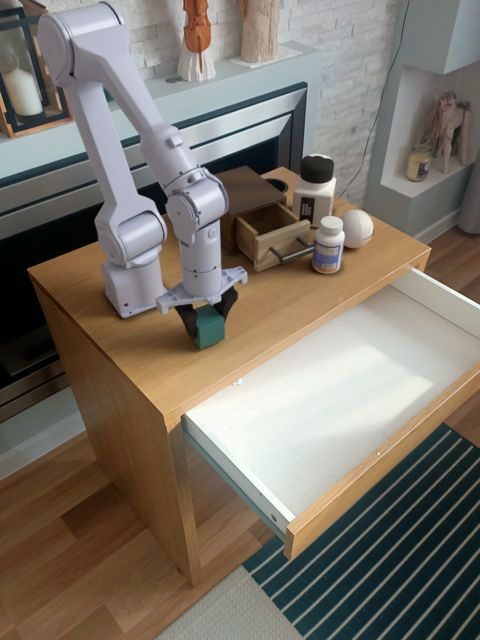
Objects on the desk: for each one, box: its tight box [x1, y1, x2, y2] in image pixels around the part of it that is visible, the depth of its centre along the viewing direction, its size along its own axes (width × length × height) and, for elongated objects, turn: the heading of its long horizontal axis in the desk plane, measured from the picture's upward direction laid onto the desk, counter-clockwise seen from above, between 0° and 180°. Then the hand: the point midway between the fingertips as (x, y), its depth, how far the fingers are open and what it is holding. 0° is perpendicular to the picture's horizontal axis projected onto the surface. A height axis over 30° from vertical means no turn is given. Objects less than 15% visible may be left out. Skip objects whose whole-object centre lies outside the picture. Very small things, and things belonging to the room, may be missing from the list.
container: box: [291, 153, 337, 229], centre depth 112 cm, size 8×8×13 cm
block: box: [193, 303, 226, 350], centre depth 88 cm, size 4×4×4 cm
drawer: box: [234, 203, 315, 273], centre depth 104 cm, size 18×11×7 cm, turn 33°
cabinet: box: [213, 165, 288, 254], centre depth 111 cm, size 15×13×9 cm
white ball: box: [339, 209, 375, 249], centre depth 108 cm, size 10×7×7 cm
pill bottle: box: [311, 215, 345, 275], centre depth 102 cm, size 5×5×10 cm
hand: (205, 329), depth 89 cm, fingers closed on block, 4 cm apart
